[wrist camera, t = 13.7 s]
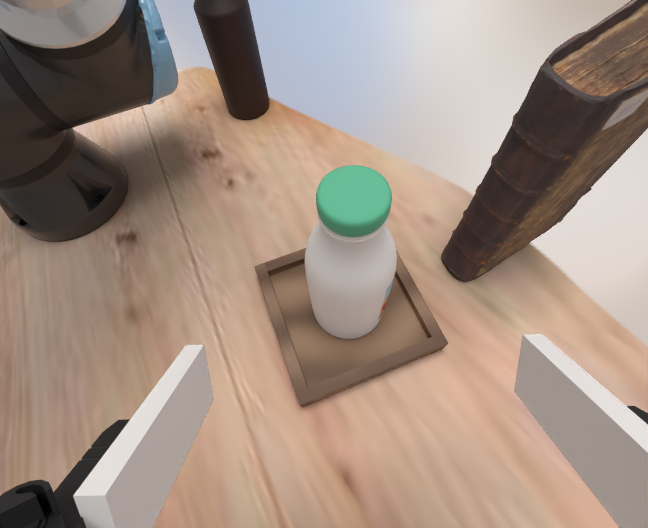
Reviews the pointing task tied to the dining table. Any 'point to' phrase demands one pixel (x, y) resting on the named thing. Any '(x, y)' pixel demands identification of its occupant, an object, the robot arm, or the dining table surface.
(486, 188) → the book
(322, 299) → the milk bottle
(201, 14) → the vinegar
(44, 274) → the dining table surface
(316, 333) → the walnut tray
